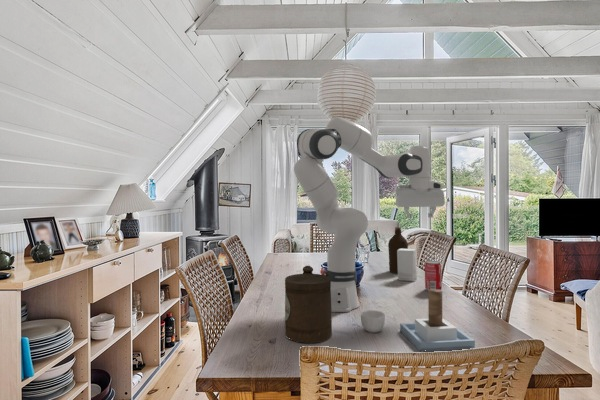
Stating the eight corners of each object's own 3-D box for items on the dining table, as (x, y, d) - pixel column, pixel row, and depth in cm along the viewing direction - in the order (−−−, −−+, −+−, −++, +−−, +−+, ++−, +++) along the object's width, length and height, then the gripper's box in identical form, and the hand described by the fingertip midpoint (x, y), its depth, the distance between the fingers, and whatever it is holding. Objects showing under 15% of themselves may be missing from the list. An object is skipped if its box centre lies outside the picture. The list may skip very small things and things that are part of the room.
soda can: (442, 292, 167) (442, 263, 167) (425, 291, 168) (425, 263, 168) (440, 288, 174) (440, 260, 174) (424, 287, 175) (423, 260, 175)
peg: (432, 339, 113) (432, 292, 112) (426, 334, 117) (426, 289, 116) (444, 338, 113) (444, 292, 113) (438, 333, 117) (438, 288, 117)
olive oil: (411, 271, 210) (410, 227, 210) (403, 275, 202) (403, 228, 202) (393, 269, 217) (393, 226, 216) (385, 272, 209) (384, 227, 208)
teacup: (382, 336, 118) (382, 319, 118) (358, 332, 121) (358, 316, 121) (388, 325, 127) (388, 309, 127) (365, 322, 130) (365, 307, 130)
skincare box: (417, 279, 192) (417, 249, 192) (413, 282, 187) (413, 250, 186) (400, 277, 197) (400, 247, 196) (396, 280, 191) (396, 249, 191)
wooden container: (296, 324, 130) (295, 260, 129) (337, 329, 124) (337, 263, 123) (277, 339, 116) (276, 269, 115) (322, 347, 110) (322, 272, 110)
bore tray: (421, 352, 106) (421, 334, 106) (400, 331, 122) (400, 315, 122) (474, 349, 108) (474, 331, 108) (447, 328, 124) (447, 313, 124)
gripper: (398, 184, 154) (398, 218, 154) (446, 184, 156) (446, 217, 156) (393, 185, 160) (393, 217, 160) (439, 184, 162) (439, 216, 162)
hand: (420, 217), depth 158 cm, fingers open, 8 cm apart
